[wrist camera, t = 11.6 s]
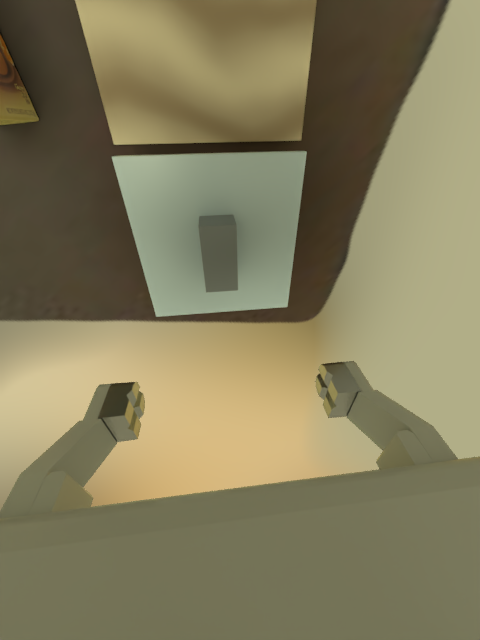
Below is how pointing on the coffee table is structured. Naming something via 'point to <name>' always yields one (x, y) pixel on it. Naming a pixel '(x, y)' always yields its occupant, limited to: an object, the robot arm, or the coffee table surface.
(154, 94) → the tan square mat
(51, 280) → the coffee table surface
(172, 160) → the lid
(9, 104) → the candy box
